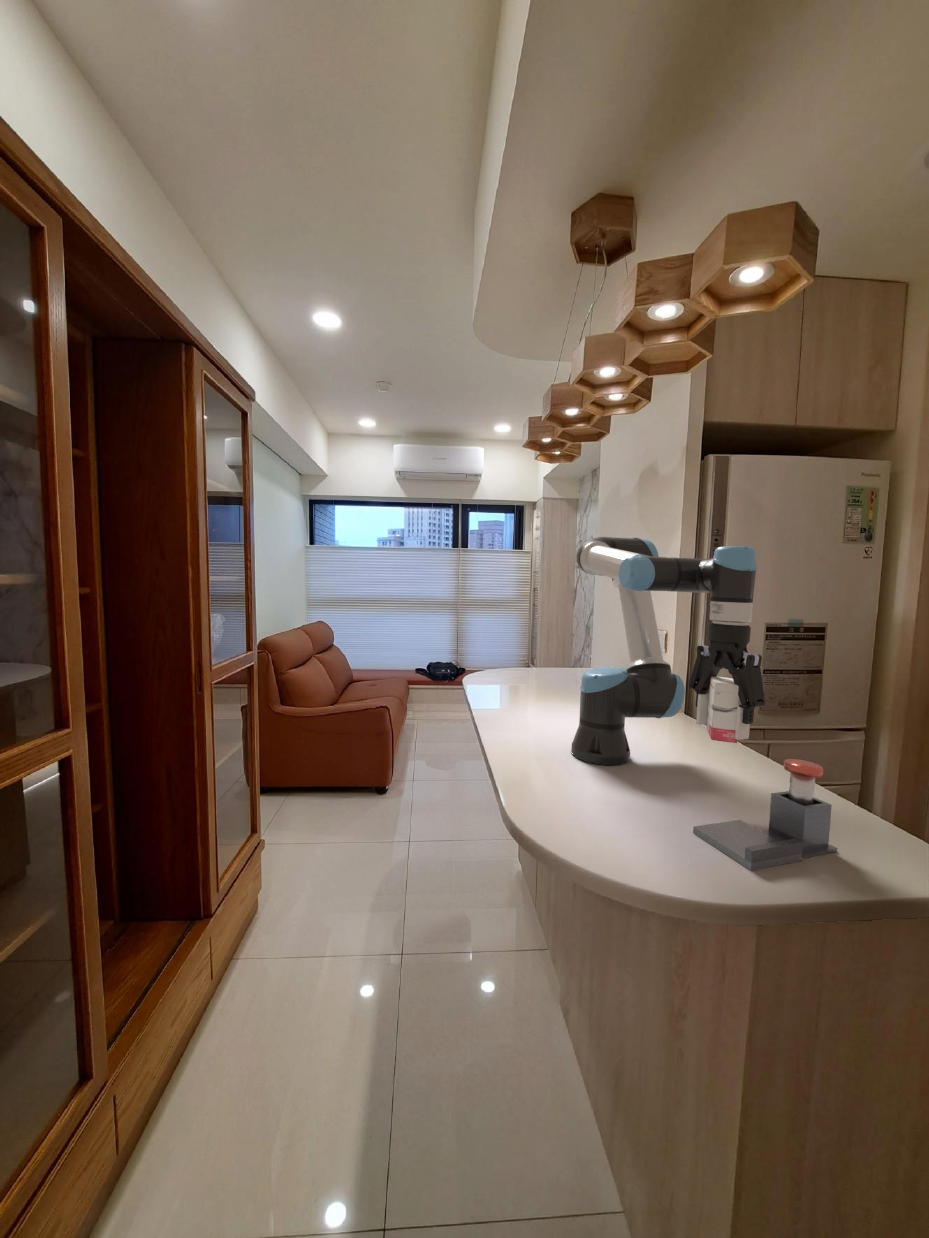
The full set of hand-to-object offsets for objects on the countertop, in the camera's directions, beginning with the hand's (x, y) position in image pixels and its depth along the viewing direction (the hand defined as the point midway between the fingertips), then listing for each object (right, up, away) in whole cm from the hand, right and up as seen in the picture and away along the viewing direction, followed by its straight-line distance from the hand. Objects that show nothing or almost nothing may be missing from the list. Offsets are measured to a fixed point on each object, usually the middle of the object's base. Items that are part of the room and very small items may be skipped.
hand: (721, 730), depth 97 cm
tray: (-4, -16, -15) cm, 23 cm away
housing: (+6, -17, -14) cm, 22 cm away
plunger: (+6, -12, -14) cm, 19 cm away
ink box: (0, -1, 0) cm, 1 cm away
